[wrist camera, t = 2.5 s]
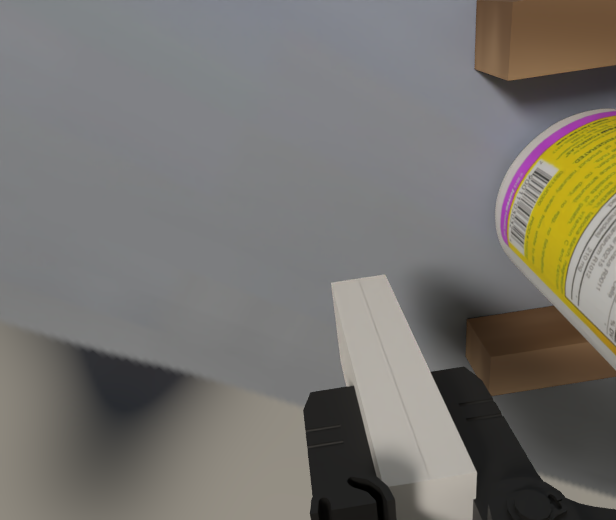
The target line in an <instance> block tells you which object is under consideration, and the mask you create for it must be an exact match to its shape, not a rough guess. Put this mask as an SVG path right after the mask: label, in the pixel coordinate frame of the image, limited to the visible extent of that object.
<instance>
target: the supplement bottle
mask: <svg viewBox="0 0 616 520" xmlns="http://www.w3.org/2000/svg"><path fill="white" fill-rule="evenodd" d="M495 224H496V230H497V235H498V238H499V241H500V244H501V246H502V248H503V250H504V252H505V253H506V254H507V256H508V257H509V258H510V260H511V261H512V262H513V263H514V264H515V265H516V266H517V268H518V269H519V270H520V271H521V272H522V273H523V274H524V275H525V276H526V277H527V278H528V279H529V280H530V281H531V282H532V283H533V284H534V285H535V287H536V288H537V289H538V290H539V291H540V292H541V293H542V294H543V295H544V296H545V297H546V298H547V299H548V300H549V301H550V302H551V303H552V304H553V305H554V306H555V307H556V308H557V309H558V310H559V311H560V313H561V314H562V315H563V316H564V317H565V318H566V319H567V320H568V321H569V322H570V323H571V324H572V325H573V326H574V327H575V328H576V329H577V330H578V331H579V332H580V333H581V334H582V336H583V337H584V338H585V339H586V340H587V341H588V342H589V343H590V344H591V345H592V346H593V347H594V348H595V349H596V350H597V351H598V352H599V353H600V354H601V355H602V356H603V357H604V359H605V360H606V361H607V362H608V363H609V364H610V365H611V366H612V367H613V368H614V369H615V370H616V109H597V110H591V111H586V112H582V113H578V114H575V115H573V116H570V117H568V118H565V119H563V120H561V121H559V122H557V123H555V124H554V125H552V126H550V127H549V128H548V129H546V130H545V131H544V132H542V133H541V134H539V135H538V136H537V137H536V138H535V139H534V140H532V141H531V142H530V143H529V144H528V145H527V146H526V147H525V148H524V149H523V151H522V152H521V153H520V154H519V155H518V156H517V158H516V159H515V160H514V162H513V163H512V165H511V166H510V168H509V169H508V171H507V173H506V175H505V177H504V179H503V181H502V184H501V187H500V190H499V193H498V197H497V201H496V209H495Z"/></svg>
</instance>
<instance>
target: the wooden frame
mask: <svg viewBox="0 0 616 520" xmlns="http://www.w3.org/2000/svg"><path fill="white" fill-rule="evenodd" d="M612 65H616V0H477V9H476V41H475V69H476V70H479V71H482V72H485V73H487V74H490V75H493V76H496V77H499V78H501V79H504V80H507V81H510V80H517V79H524V78H531V77H537V76H544V75H551V74H558V73H565V72H571V71H578V70H585V69H592V68H599V67H605V66H612ZM466 358H467V360H468V361H469V363H470V365H471V367H472V368H473V370H474V372H475V374H476V375H477V377H478V378H480V379H481V380H482V381H483V383H484V384H485V386H486V388H487V390H488V391H489V393H490V395H491V396H495V395H502V394H508V393H515V392H521V391H527V390H534V389H540V388H546V387H553V386H559V385H565V384H572V383H578V382H584V381H591V380H597V379H604V378H610V377H616V370H615V369H614V368H613V367H612V366H611V365H610V364H609V363H608V362H607V361H606V360H605V359H604V357H603V356H602V355H601V354H600V353H599V352H598V351H597V350H596V349H595V348H594V347H593V346H592V345H591V344H590V343H589V342H588V341H587V340H586V339H585V338H584V337H583V336H582V334H581V333H580V332H579V331H578V330H577V329H576V328H575V327H574V326H573V325H572V324H571V323H570V322H569V321H568V320H567V319H566V318H565V317H564V316H563V315H562V314H561V313H560V311H559V310H558V309H557V308H556V307H555V306H549V307H543V308H536V309H530V310H523V311H517V312H510V313H504V314H497V315H491V316H485V317H478V318H472V319H467V331H466Z"/></svg>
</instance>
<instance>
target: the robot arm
mask: <svg viewBox="0 0 616 520" xmlns="http://www.w3.org/2000/svg"><path fill="white" fill-rule="evenodd" d="M331 285H332V294H333V302H334V310H335V318H336V326H337V334H338V343H339V351H340V359H341V364H342V369H343V373H344V377H345V382H346V386H347V387H341V388H335V389H329V390H323V391H316V392H311V393H310V395H309V398H308V400H307V403H306V405H305V408H304V410H303V412H304V421H305V430H306V439H307V447H308V458H309V467H310V476H311V485H312V495H313V497H312V500H311V510H310V516H311V520H616V510H615V509H607V508H600V507H593V506H588V505H584V504H579V503H577V502H575V501H572V500H570V499H567V498H565V496H564V495H563V494H562V493H561V492H560V491H558V490H557V489H555V488H554V487H552V486H551V485H549V484H547V483H546V482H543V480H542V479H541V478H540V476H539V475H538V474H537V472H536V471H535V469H534V467H533V466H532V464H531V462H530V461H529V459H528V457H527V455H526V454H525V452H524V450H523V449H522V447H521V445H520V444H519V442H518V440H517V439H516V437H515V435H514V433H513V432H512V430H511V428H510V427H509V425H508V423H507V422H506V420H505V418H504V417H502V415H501V411H500V410H499V408H498V406H497V405H496V403H495V402H493V398H492V396H491V395H490V393H489V391H488V390H487V388H486V386H485V384H484V383H483V381H482V380H481V379H480V378H478V377H477V376H476V375H474V374H473V373H472V372H470V371H469V370H468V369H467V368H465V367H459V368H452V369H446V370H440V371H433V372H430V370H429V368H428V366H427V364H426V362H425V359H424V357H423V355H422V353H421V351H420V349H419V347H418V344H417V342H416V340H415V338H414V336H413V334H412V331H411V329H410V327H409V325H408V323H407V321H406V319H405V316H404V314H403V312H402V310H401V308H400V306H399V303H398V301H397V299H396V297H395V295H394V293H393V291H392V288H391V286H390V284H389V282H388V280H387V278H386V275H378V276H372V277H365V278H359V279H352V280H346V281H339V282H333V283H331Z"/></svg>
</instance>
